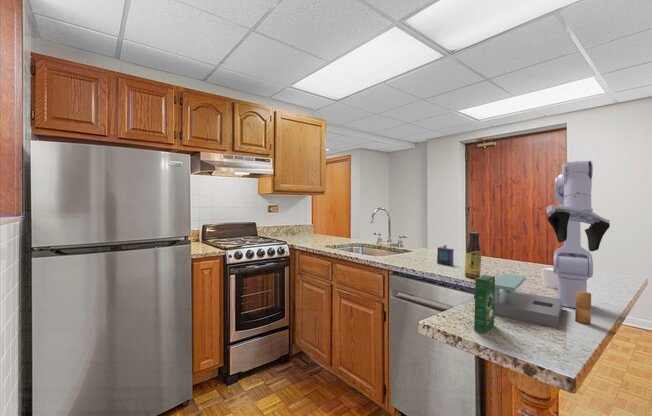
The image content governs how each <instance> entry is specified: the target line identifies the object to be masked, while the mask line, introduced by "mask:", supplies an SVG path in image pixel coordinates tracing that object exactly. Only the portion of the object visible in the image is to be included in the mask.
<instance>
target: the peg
mask: <svg viewBox="0 0 652 416" xmlns="http://www.w3.org/2000/svg"><path fill="white" fill-rule="evenodd" d="M574 311H575V313H574V316H575V317H574V321H575V322H576V323H578V324H582V325H591V320H592V318H591V316H592V293H591V292H582V291H576V308H574Z"/></svg>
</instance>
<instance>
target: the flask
mask: <svg viewBox="0 0 652 416" xmlns="http://www.w3.org/2000/svg"><path fill="white" fill-rule="evenodd" d="M454 251H455V250H454V248H448V245H447V244H443V246H438V247H437V254H436V255H437V256H436V257H437V258H436V259H437V260H436V262H437V263H436V264H438V265H445V266H450V267H451V266H452V267H453V266H454V253H455V252H454Z"/></svg>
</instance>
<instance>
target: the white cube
mask: <svg viewBox="0 0 652 416" xmlns="http://www.w3.org/2000/svg"><path fill="white" fill-rule="evenodd" d="M541 276H542V285H543V287H546V288H550V289H556V290H558V270H557V274H555V273H554V272H553V267H542V268H541Z"/></svg>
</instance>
